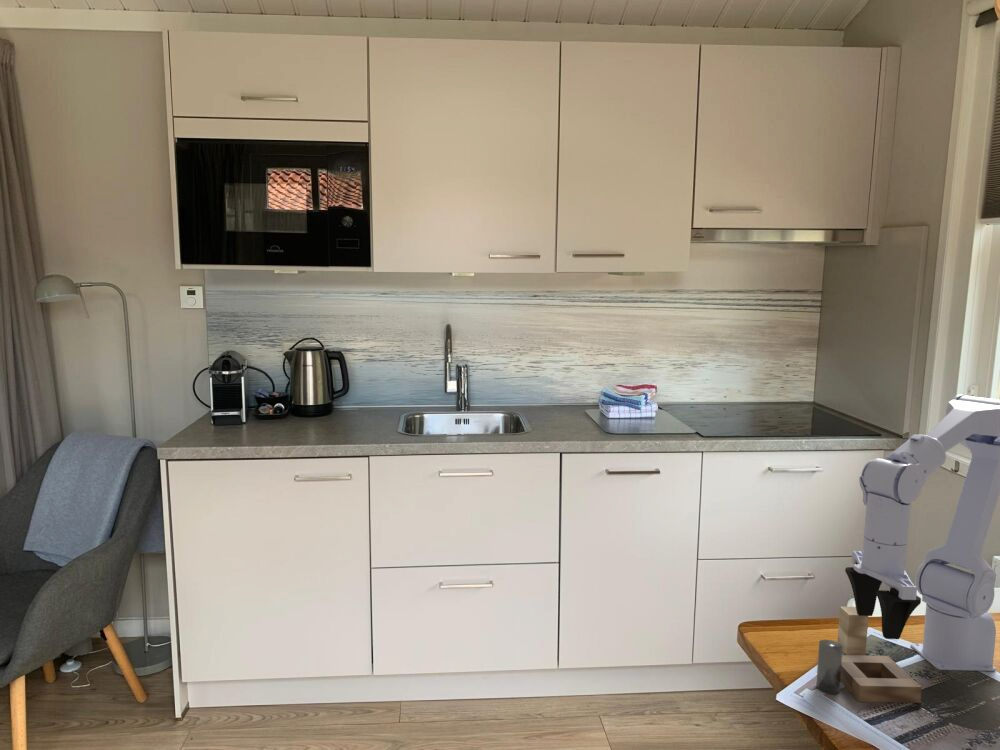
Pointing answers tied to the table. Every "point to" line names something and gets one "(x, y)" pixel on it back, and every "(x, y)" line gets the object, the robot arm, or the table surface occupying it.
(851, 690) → the bore block
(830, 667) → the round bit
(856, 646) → the square bit
